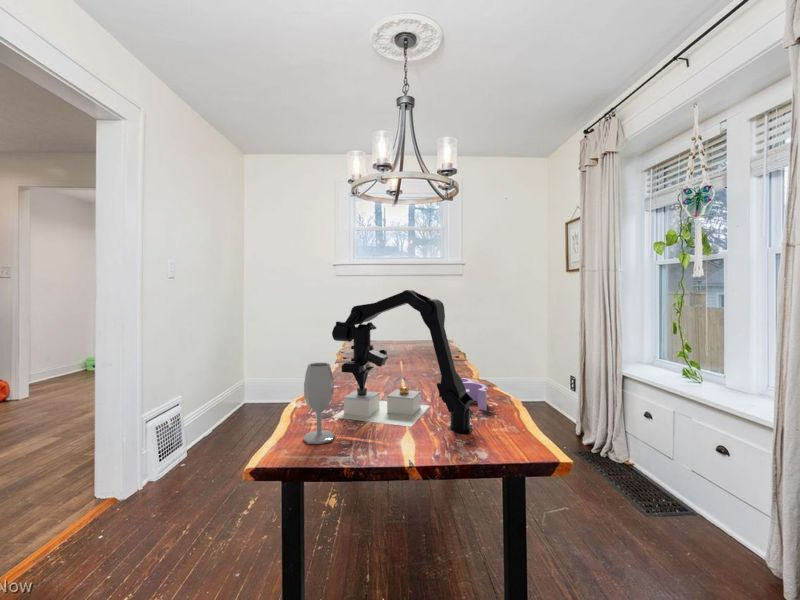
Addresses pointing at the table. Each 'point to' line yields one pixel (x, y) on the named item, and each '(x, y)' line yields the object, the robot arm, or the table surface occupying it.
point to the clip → (476, 392)
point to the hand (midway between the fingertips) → (362, 388)
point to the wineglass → (318, 398)
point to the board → (387, 416)
